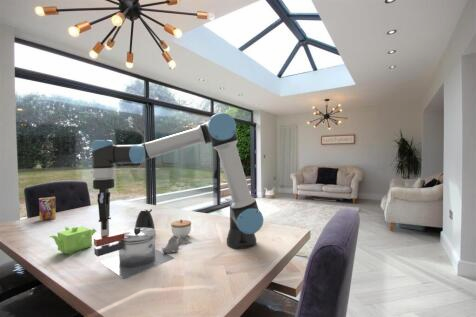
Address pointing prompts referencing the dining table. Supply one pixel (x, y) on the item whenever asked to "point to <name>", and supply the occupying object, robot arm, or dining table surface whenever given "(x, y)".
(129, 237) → the lid
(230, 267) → the dining table surface
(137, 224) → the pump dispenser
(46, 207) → the candy box
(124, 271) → the trivet
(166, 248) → the goldfish
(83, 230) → the kettle
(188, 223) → the lidded jar
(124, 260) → the pot
